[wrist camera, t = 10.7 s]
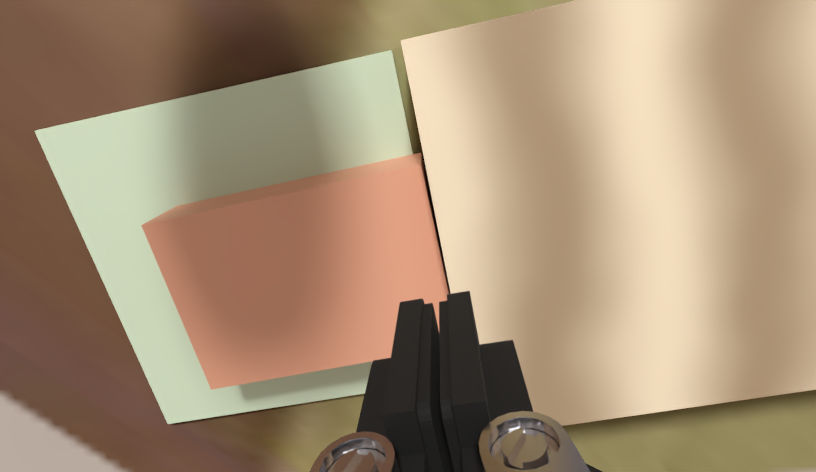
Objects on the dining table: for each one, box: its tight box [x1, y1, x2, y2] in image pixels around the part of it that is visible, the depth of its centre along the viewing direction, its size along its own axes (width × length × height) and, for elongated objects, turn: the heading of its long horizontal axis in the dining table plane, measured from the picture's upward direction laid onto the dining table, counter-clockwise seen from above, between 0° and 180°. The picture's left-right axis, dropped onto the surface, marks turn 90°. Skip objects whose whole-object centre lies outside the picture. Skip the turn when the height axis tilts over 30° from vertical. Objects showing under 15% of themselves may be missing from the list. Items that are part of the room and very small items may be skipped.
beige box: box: [401, 0, 816, 426], centre depth 16 cm, size 20×14×4 cm
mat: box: [35, 50, 413, 424], centre depth 20 cm, size 14×14×1 cm
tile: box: [141, 153, 451, 390], centre depth 18 cm, size 10×7×2 cm
